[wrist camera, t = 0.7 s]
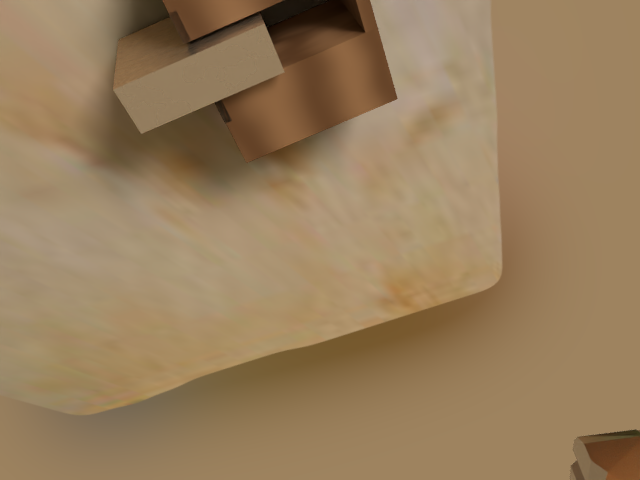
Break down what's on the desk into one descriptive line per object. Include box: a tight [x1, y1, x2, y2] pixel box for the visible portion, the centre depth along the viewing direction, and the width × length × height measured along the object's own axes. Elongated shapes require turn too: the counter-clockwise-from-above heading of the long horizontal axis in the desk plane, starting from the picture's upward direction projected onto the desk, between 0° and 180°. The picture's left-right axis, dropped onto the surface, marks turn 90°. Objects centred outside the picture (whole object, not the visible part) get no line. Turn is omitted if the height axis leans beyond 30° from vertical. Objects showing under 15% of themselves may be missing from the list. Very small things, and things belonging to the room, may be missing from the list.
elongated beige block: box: [113, 11, 284, 134], centre depth 48 cm, size 12×4×10 cm, turn 109°
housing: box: [162, 0, 397, 163], centre depth 49 cm, size 14×18×9 cm
